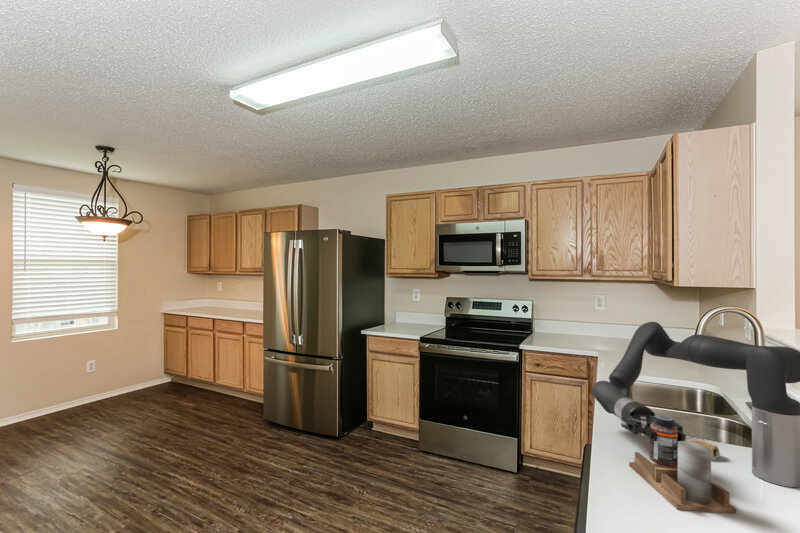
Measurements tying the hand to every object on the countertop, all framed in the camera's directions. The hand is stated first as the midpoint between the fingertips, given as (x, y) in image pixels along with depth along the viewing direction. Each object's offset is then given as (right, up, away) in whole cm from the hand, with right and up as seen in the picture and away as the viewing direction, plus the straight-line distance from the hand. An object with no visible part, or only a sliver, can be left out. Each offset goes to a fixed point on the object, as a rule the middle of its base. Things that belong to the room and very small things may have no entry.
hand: (669, 438), depth 97 cm
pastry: (+20, -12, +16) cm, 29 cm away
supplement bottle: (0, -7, +2) cm, 8 cm away
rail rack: (0, -10, -3) cm, 11 cm away
